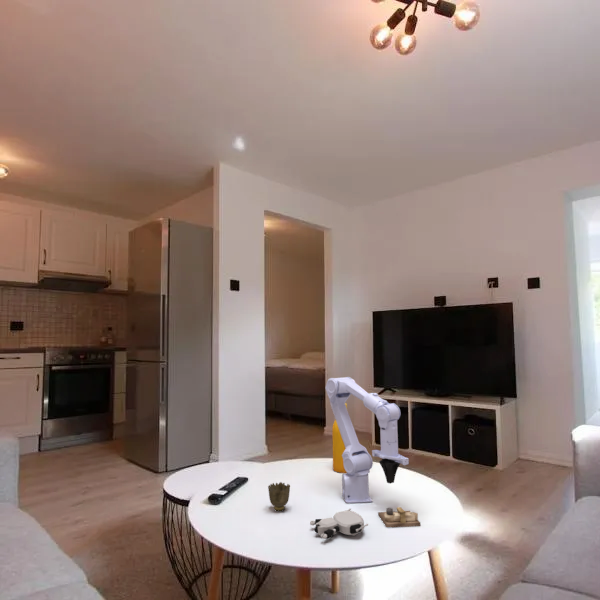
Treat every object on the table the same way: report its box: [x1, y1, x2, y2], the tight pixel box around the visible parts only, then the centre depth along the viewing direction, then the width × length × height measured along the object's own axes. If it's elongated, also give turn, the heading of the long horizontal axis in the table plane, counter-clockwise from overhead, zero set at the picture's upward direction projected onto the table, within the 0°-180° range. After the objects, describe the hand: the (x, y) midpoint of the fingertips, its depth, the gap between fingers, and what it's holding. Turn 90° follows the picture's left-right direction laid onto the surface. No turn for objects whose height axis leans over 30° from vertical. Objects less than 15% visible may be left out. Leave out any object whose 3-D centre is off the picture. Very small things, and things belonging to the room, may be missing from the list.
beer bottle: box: [331, 402, 349, 474], centre depth 189 cm, size 9×9×29 cm
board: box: [377, 507, 421, 528], centre depth 134 cm, size 11×9×4 cm
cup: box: [267, 481, 291, 512], centre depth 144 cm, size 8×7×8 cm
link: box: [385, 511, 419, 522], centre depth 132 cm, size 10×3×2 cm, turn 92°
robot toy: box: [309, 508, 369, 540], centre depth 126 cm, size 12×4×15 cm
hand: (390, 482), depth 142 cm, fingers closed
